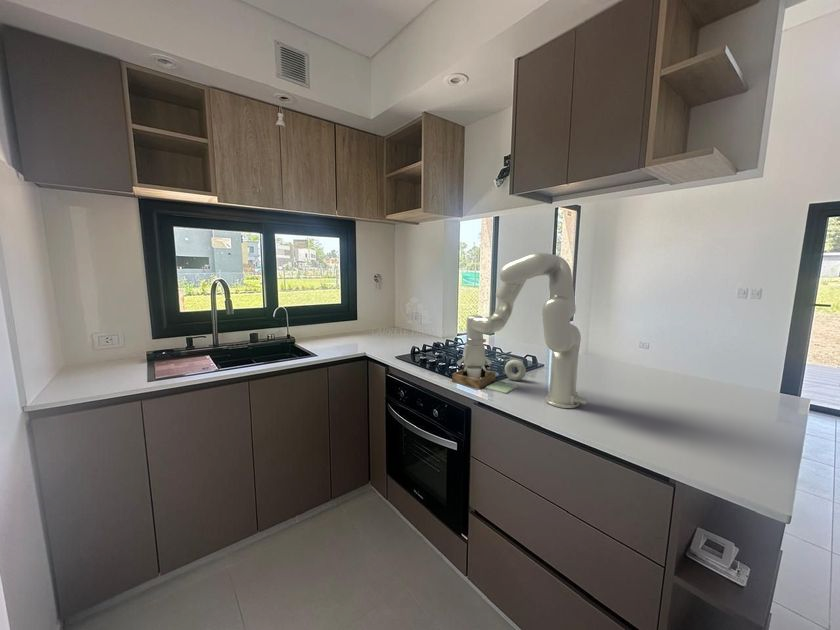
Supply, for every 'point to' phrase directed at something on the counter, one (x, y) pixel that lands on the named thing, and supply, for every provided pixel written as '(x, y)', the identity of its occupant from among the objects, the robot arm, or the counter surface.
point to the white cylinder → (474, 372)
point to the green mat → (500, 387)
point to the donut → (511, 374)
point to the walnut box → (473, 379)
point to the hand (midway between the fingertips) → (473, 378)
